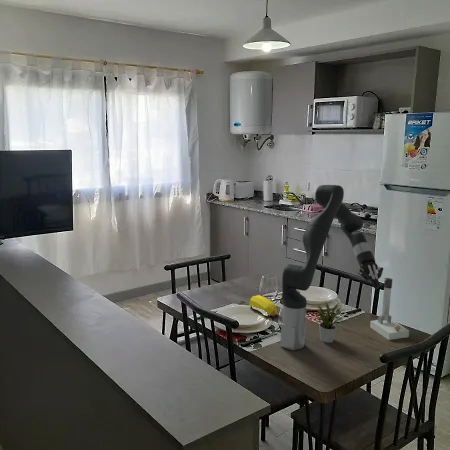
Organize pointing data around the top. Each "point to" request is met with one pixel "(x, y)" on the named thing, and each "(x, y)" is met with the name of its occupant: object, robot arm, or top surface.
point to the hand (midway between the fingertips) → (377, 287)
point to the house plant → (328, 323)
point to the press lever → (386, 298)
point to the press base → (389, 328)
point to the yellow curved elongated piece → (264, 304)
